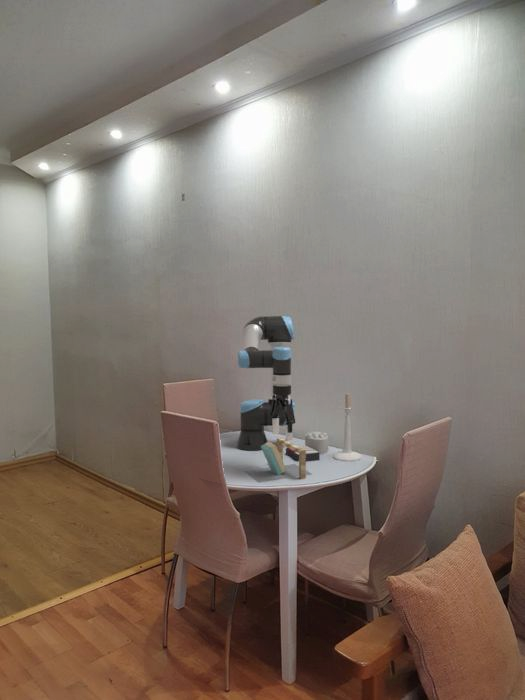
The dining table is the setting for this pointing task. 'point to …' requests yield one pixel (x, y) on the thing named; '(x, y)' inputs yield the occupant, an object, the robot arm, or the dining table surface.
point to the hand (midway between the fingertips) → (282, 436)
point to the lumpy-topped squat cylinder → (317, 441)
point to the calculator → (310, 454)
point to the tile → (273, 458)
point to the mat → (269, 475)
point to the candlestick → (347, 437)
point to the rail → (299, 450)
